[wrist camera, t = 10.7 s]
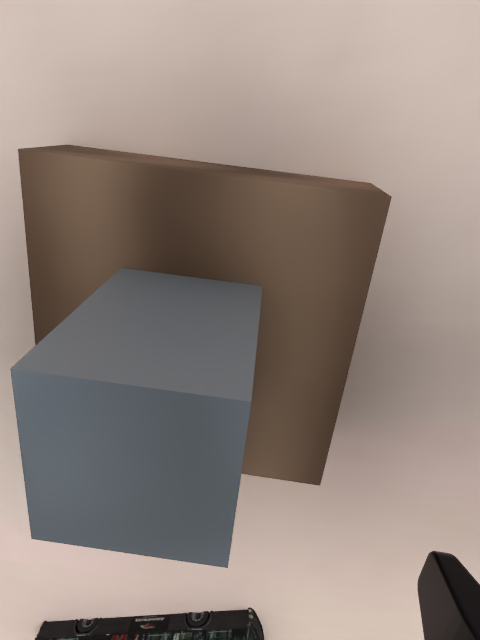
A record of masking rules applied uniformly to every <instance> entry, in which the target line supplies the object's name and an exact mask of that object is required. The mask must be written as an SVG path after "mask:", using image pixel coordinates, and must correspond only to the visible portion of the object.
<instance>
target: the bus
mask: <svg viewBox="0 0 480 640" xmlns="http://www.w3.org/2000/svg"><path fill="white" fill-rule="evenodd" d="M35 640H264V635H263V629H262V625H261V623H260V621H259V618H258V616H257V615H256V613H255V611H254V610H253V609H252V608H248V610H234V611H233V610H231V611H215V612H213V611H211V612H210V614H209V612H208V611H205V612H201V613H195V612H189V613H188V616H187V614H186V613H182V614H166V615H150V616H133V617H117V618H100V620H99V619H98V618H94V619H92V620H88V619H87V620H86V619H80V621H78V619H76V620H68V621H52V622H47V621H45V622H44V623H43V624H42V626H41V628H40V631H39V633H38V634H37V637H36V638H35Z"/></svg>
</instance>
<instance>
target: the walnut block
mask: <svg viewBox="0 0 480 640" xmlns="http://www.w3.org/2000/svg"><path fill="white" fill-rule="evenodd" d="M18 153H19V164H20V175H21V187H22V198H23V209H24V220H25V232H26V243H27V254H28V265H29V276H30V288H31V299H32V310H33V321H34V332H35V344H36V345H37V344H38V343H39V342H40V341H41V340H43V339H44V338H45V337H46V336H47V335H48V334H49V333H50V332H51V331H52V330H54V329H55V328H56V327H57V326H58V325H59V324H60V323H61V322H62V321H63V320H64V319H66V318H67V317H68V316H69V315H70V314H71V313H72V312H73V311H74V310H75V309H77V308H78V307H79V306H80V305H81V304H82V303H83V302H84V301H85V300H86V299H88V298H89V297H90V296H91V295H92V294H93V293H94V292H95V291H96V290H97V289H99V288H100V287H101V286H102V285H103V284H104V283H105V282H106V281H107V280H108V279H109V278H111V277H112V276H113V275H114V274H115V273H116V272H117V271H118V270H119V269H120V268H126V269H134V270H141V271H149V272H157V273H164V274H172V275H180V276H188V277H195V278H203V279H211V280H218V281H226V282H234V283H242V284H249V285H257V286H263V287H262V297H261V307H260V318H259V328H258V338H257V348H256V359H255V369H254V379H253V389H252V400H251V407H250V414H249V421H248V428H247V435H246V442H245V449H244V456H243V463H242V470H241V474H248V475H254V476H261V477H268V478H274V479H281V480H287V481H294V482H300V483H307V484H313V485H320V483H321V479H322V475H323V471H324V467H325V463H326V459H327V455H328V451H329V447H330V443H331V439H332V435H333V431H334V427H335V423H336V419H337V415H338V411H339V407H340V403H341V399H342V395H343V390H344V386H345V382H346V378H347V374H348V370H349V366H350V362H351V358H352V354H353V350H354V346H355V342H356V338H357V334H358V330H359V326H360V322H361V318H362V314H363V310H364V306H365V302H366V298H367V294H368V289H369V285H370V281H371V277H372V273H373V269H374V265H375V261H376V257H377V253H378V249H379V245H380V241H381V237H382V233H383V229H384V225H385V221H386V217H387V213H388V209H389V205H390V201H391V196H389V195H388V194H386V193H385V192H383V191H382V190H380V189H379V188H377V187H376V186H374V185H373V184H371V183H364V182H356V181H349V180H341V179H333V178H325V177H317V176H309V175H301V174H293V173H286V172H278V171H270V170H262V169H254V168H246V167H238V166H230V165H222V164H215V163H207V162H199V161H191V160H183V159H175V158H167V157H159V156H152V155H144V154H136V153H128V152H120V151H112V150H104V149H96V148H88V147H81V146H73V145H59V146H47V147H36V148H24V149H18Z"/></svg>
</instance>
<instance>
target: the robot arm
mask: <svg viewBox="0 0 480 640" xmlns="http://www.w3.org/2000/svg"><path fill="white" fill-rule="evenodd" d="M418 596H419V603H420V610H421V617H422V624H423V632H424V639H425V640H480V584H479V583H478V582H477V581H476V580H475V579H474V577H473V576H472V575H471V574H470V573H469V572H468V570H467V569H466V568H465V567H464V566H463V565H462V564H461V562H460V561H459V560H458V559H457V558H456V557H455V556H454V555H452V554H449V553H443V552H437V551H432V552H430V553H429V555H428V557H427V559H426V561H425V564H424V566H423V569H422V571H421V573H420V576H419V579H418Z"/></svg>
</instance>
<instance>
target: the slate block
mask: <svg viewBox="0 0 480 640" xmlns="http://www.w3.org/2000/svg"><path fill="white" fill-rule="evenodd" d="M262 287H263V286H257V285H249V284H242V283H234V282H226V281H218V280H211V279H203V278H195V277H188V276H180V275H172V274H164V273H157V272H149V271H141V270H134V269H126V268H120V269H119V270H118V271H117V272H116V273H115V274H114V275H113V276H112V277H111V278H109V279H108V280H107V281H106V282H105V283H104V284H103V285H102V286H101V287H100V288H99V289H97V290H96V291H95V292H94V293H93V294H92V295H91V296H90V297H89V298H88V299H86V300H85V301H84V302H83V303H82V304H81V305H80V306H79V307H78V308H77V309H75V310H74V311H73V312H72V313H71V314H70V315H69V316H68V317H67V318H66V319H64V320H63V321H62V322H61V323H60V324H59V325H58V326H57V327H56V328H55V329H54V330H52V331H51V332H50V333H49V334H48V335H47V336H46V337H45V338H44V339H43V340H41V341H40V342H39V343H38V344H37V345H36V346H35V347H34V348H33V349H32V350H30V351H29V352H28V353H27V354H26V355H25V356H24V357H23V358H22V359H21V360H20V361H18V362H17V363H16V364H15V365H14V366H13V367H12V368H11V376H12V384H13V392H14V401H15V409H16V417H17V425H18V433H19V441H20V449H21V457H22V465H23V473H24V481H25V489H26V497H27V506H28V514H29V522H30V530H31V538H32V539H36V540H43V541H50V542H57V543H63V544H70V545H77V546H84V547H90V548H97V549H104V550H111V551H117V552H124V553H131V554H138V555H144V556H151V557H158V558H165V559H171V560H178V561H185V562H192V563H198V564H205V565H212V566H219V567H225V568H228V561H229V554H230V547H231V540H232V533H233V526H234V519H235V512H236V505H237V498H238V491H239V484H240V477H241V470H242V463H243V456H244V449H245V442H246V435H247V428H248V421H249V414H250V407H251V400H252V389H253V379H254V369H255V359H256V348H257V338H258V328H259V318H260V307H261V297H262Z"/></svg>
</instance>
